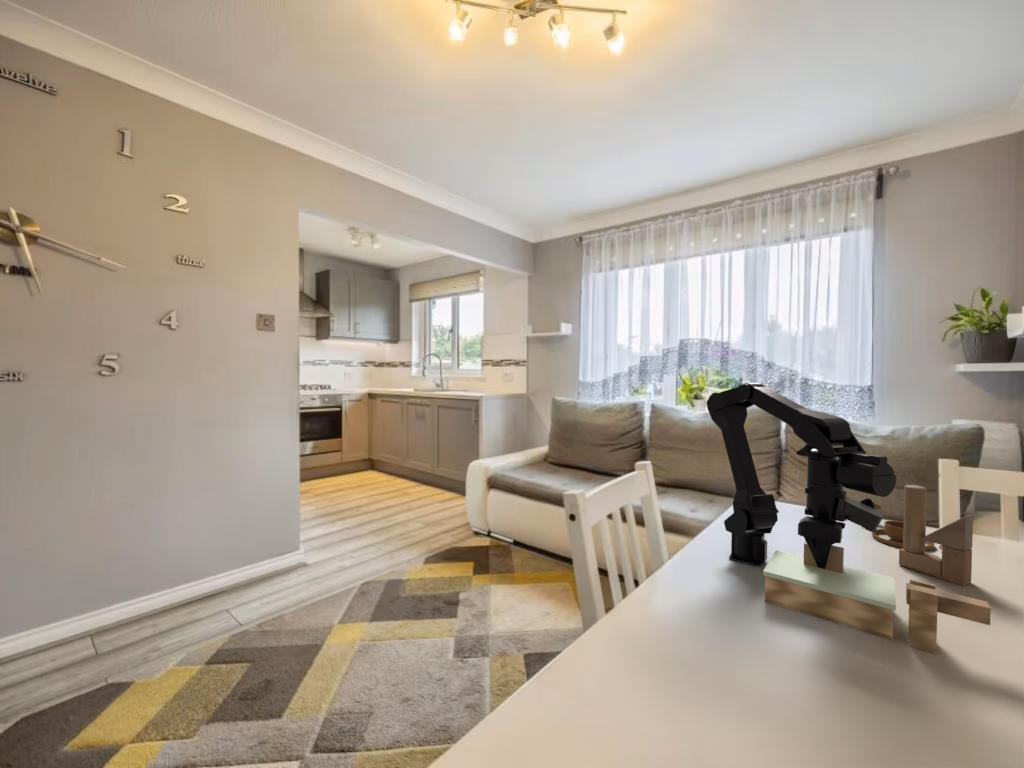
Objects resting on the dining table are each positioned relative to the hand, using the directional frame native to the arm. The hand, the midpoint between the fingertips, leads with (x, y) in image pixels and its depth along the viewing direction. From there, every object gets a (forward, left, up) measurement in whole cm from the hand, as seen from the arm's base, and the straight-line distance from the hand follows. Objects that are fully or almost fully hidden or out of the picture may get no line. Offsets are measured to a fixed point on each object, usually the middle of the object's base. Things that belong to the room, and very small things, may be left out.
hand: (823, 563), depth 83 cm
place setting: (+13, +51, -7) cm, 53 cm away
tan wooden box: (+3, -4, -6) cm, 8 cm away
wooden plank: (+16, -7, 0) cm, 18 cm away
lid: (+1, -3, -1) cm, 4 cm away
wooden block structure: (+17, +28, -7) cm, 33 cm away
